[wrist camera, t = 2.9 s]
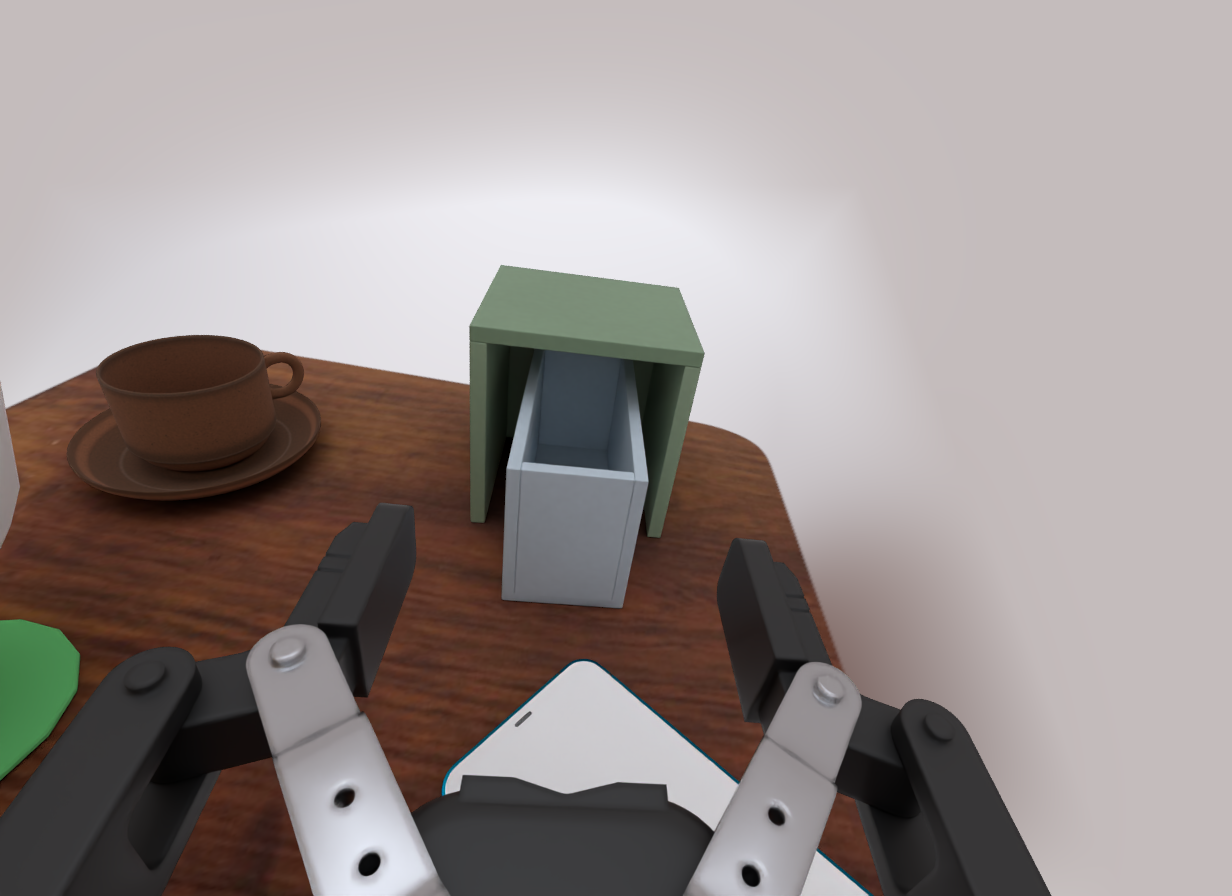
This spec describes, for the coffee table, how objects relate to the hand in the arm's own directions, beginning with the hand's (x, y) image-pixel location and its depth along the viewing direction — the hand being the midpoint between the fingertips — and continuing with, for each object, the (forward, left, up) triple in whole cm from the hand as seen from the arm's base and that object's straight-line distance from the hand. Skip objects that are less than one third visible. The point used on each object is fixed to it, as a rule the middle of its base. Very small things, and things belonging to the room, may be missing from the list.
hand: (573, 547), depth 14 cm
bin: (+8, -14, -12) cm, 20 cm away
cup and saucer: (+27, -5, -12) cm, 30 cm away
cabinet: (+10, -17, -12) cm, 23 cm away
